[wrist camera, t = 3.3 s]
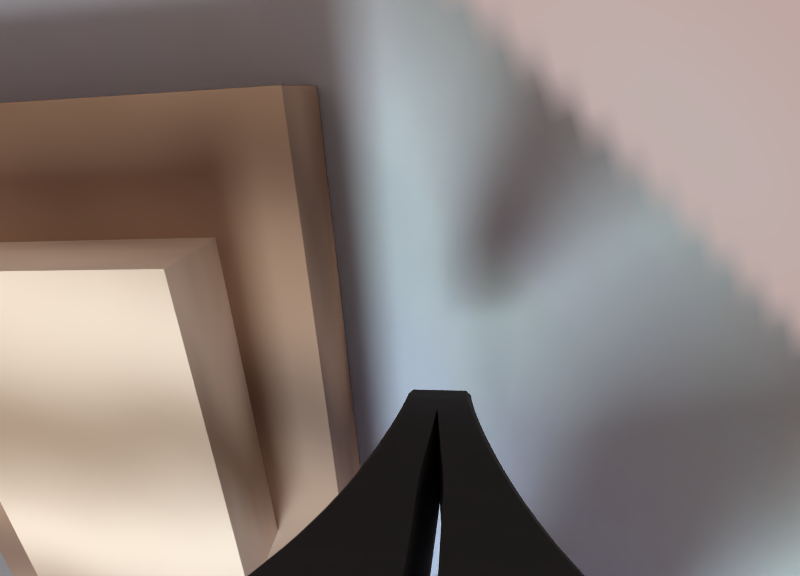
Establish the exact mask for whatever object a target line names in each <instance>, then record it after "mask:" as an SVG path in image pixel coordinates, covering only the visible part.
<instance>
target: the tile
mask: <svg viewBox="0 0 800 576" xmlns="http://www.w3.org/2000/svg"><path fill="white" fill-rule="evenodd" d="M0 502H1V504H2V506H3V508H4V510H5V512H6V514H7V516H8V518H9V520H10V522H11V524H12V526H13V528H14V530H15V532H16V534H17V536H18V538H19V540H20V542H21V544H22V546H23V548H24V550H25V552H26V553H27V555H28V557H29V559H30V561H31V563H32V565H33V567H34V569H35V571H36V573H37V575H38V576H248V575H249V574H250V573H252V572H253V571H254V570H255V569H257V568H258V567H259V566H260V565H262V564H263V563H264V562H265V561H266V559H267V557H268V555H269V552H270V550H271V547H272V545H273V542H274V540H275V537H276V535H277V532H278V529H277V524H276V520H275V515H274V510H273V506H272V501H271V496H270V491H269V487H268V482H267V477H266V473H265V468H264V463H263V459H262V454H261V449H260V445H259V440H258V435H257V431H256V426H255V421H254V417H253V412H252V407H251V402H250V398H249V393H248V388H247V384H246V379H245V374H244V370H243V365H242V360H241V356H240V351H239V346H238V342H237V337H236V332H235V328H234V323H233V318H232V314H231V309H230V304H229V299H228V295H227V290H226V285H225V281H224V276H223V271H222V267H221V262H220V257H219V253H218V248H217V243H216V239H215V238H170V239H125V240H80V241H35V242H0Z"/></svg>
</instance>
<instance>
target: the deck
mask: <svg viewBox="0 0 800 576" xmlns="http://www.w3.org/2000/svg"><path fill="white" fill-rule="evenodd" d="M170 238H215V239H216V243H217V248H218V253H219V257H220V262H221V267H222V271H223V276H224V281H225V285H226V290H227V295H228V299H229V304H230V309H231V314H232V318H233V323H234V328H235V332H236V337H237V342H238V346H239V351H240V356H241V360H242V365H243V370H244V374H245V379H246V384H247V388H248V393H249V398H250V402H251V407H252V412H253V417H254V421H255V426H256V431H257V435H258V440H259V445H260V449H261V454H262V459H263V463H264V468H265V473H266V477H267V482H268V487H269V491H270V496H271V501H272V506H273V510H274V515H275V520H276V524H277V529H278V532H277V535H276V537H275V540H274V542H273V545H272V547H271V550H270V552H269V555H268V557H267V559H266V561H267V560H268V559H269V558H270V557H272V556H273V555H274V554H275V553H277V552H278V551H279V550H280V549H282V548H283V547H284V546H285V545H286V544H288V543H289V542H290V541H291V540H292V539H293V538H294V537H295V536H297V535H298V534H299V533H300V532H301V531H302V530H303V529H304V528H305V527H306V526H307V525H308V524H309V523H310V522H311V521H313V520H314V519H315V518H316V517H317V516H318V515H319V514H320V513H321V512H322V511H323V510H324V509H325V508H326V507H327V506H328V505H329V504H330V503H331V502H332V501H333V499H334V498H335V497H336V496H337V495H338V494H339V493H340V492H341V491H342V490H343V489H344V487H345V486H346V485H347V484H348V483H349V482H350V480H351V479H352V478H353V477H354V476H355V475H356V473H357V472H358V471H359V469H360V461H359V453H358V444H357V435H356V426H355V417H354V409H353V400H352V391H351V382H350V373H349V364H348V356H347V347H346V338H345V329H344V320H343V311H342V303H341V294H340V285H339V276H338V267H337V258H336V250H335V241H334V232H333V223H332V214H331V205H330V197H329V188H328V179H327V170H326V161H325V153H324V144H323V135H322V126H321V117H320V108H319V100H318V91H317V86H305V85H273V86H258V87H242V88H227V89H211V90H196V91H180V92H165V93H149V94H133V95H118V96H102V97H87V98H71V99H56V100H40V101H25V102H9V103H0V242H35V241H80V240H125V239H170ZM0 552H1V554H2V556H3V558H4V559H5V561H6V563H7V565H8V567H9V569H10V571H11V572H12V574H13V576H38V575H37V573H36V571H35V569H34V567H33V565H32V563H31V561H30V559H29V557H28V555H27V553H26V552H25V550H24V548H23V546H22V544H21V542H20V540H19V538H18V536H17V534H16V532H15V530H14V528H13V526H12V524H11V522H10V520H9V518H8V516H7V514H6V512H5V510H4V508H3V506H2V504H1V502H0Z"/></svg>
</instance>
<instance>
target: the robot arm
mask: <svg viewBox="0 0 800 576" xmlns="http://www.w3.org/2000/svg"><path fill="white" fill-rule="evenodd" d="M439 505H440V511H441V538H440V555H439V570H438V576H584V575H583V574H582V573H581V572H580V570H579V569H578V568H577V567H576V566H575V565H574V564H573V563H572V561H571V560H570V559H569V558H568V557H567V556H566V555H565V554H564V552H563V551H562V550H561V549H560V548H559V547H558V546H557V544H556V543H555V542H554V541H553V539H552V538H551V537H550V536H549V534H548V533H547V532H546V530H545V529H544V528H543V527H542V525H541V524H540V523H539V522H538V520H537V519H536V517H535V516H534V515H533V513H532V512H531V511H530V509H529V508H528V507H527V505H526V504H525V502H524V501H523V499H522V498H521V496H520V495H519V493H518V492H517V490H516V489H515V487H514V486H513V484H512V483H511V481H510V479H509V478H508V476H507V474H506V473H505V471H504V470H503V468H502V466H501V464H500V463H499V461H498V459H497V457H496V455H495V453H494V452H493V450H492V448H491V446H490V444H489V442H488V440H487V438H486V436H485V434H484V432H483V430H482V427H481V425H480V423H479V420H478V418H477V415H476V413H475V410H474V407H473V404H472V400H471V395H470V394H469V393H468V392H467V391H448V390H412V391H411V392H410V393H409V394H408V396H407V399H406V401H405V403H404V404H403V406H402V408H401V410H400V412H399V413H398V415H397V417H396V418H395V420H394V422H393V423H392V425H391V427H390V428H389V430H388V431H387V433H386V434H385V435H384V437H383V438H382V440H381V441H380V443H379V444H378V446H377V447H376V449H375V450H374V451H373V453H372V454H371V455H370V457H369V458H368V459H367V460H366V462H365V463H364V464H363V466H362V467H361V468H360V469H359V471H358V472H357V473H356V475H355V476H354V477H353V478H352V479H351V480H350V482H349V483H348V484H347V485H346V486H345V487H344V489H343V490H342V491H341V492H340V493H339V494H338V495H337V496H336V497H335V498H334V499H333V501H332V502H331V503H330V504H329V505H328V506H327V507H326V508H325V509H324V510H323V511H322V512H321V513H320V514H319V515H318V516H317V517H316V518H315V519H314V520H313V521H311V522H310V523H309V524H308V525H307V526H306V527H305V528H304V529H303V530H302V531H301V532H300V533H299V534H298V535H297V536H295V537H294V538H293V539H292V540H291V541H290V542H289V543H288V544H286V545H285V546H284V547H283V548H282V549H280V550H279V551H278V552H277V553H275V554H274V555H273V556H272V557H270V558H269V559H268V560H267V561H265V562H264V563H263V564H262V565H260V566H259V567H258V568H257V569H255V570H254V571H253V572H252V573H250V574H249V575H248V576H430V573H431V565H432V558H433V550H434V543H435V535H436V528H437V520H438V513H439Z"/></svg>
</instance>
